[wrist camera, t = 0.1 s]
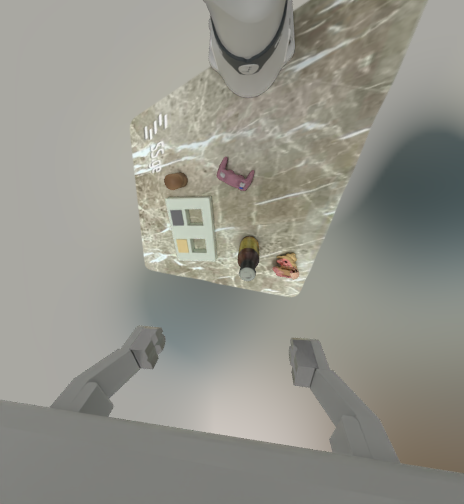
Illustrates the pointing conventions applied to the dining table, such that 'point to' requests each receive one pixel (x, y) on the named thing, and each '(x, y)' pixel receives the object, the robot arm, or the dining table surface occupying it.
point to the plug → (175, 181)
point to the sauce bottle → (248, 258)
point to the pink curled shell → (287, 266)
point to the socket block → (192, 227)
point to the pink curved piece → (233, 177)
